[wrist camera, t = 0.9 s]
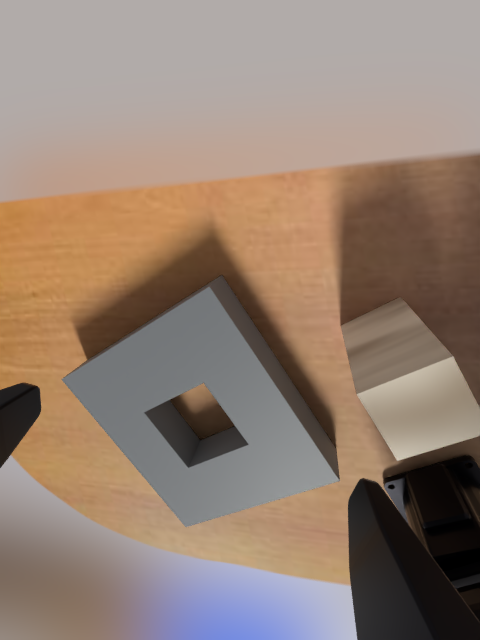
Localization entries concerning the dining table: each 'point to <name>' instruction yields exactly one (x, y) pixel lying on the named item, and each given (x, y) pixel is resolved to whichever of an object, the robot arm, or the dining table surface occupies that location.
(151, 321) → the socket block
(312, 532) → the dining table surface
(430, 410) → the square peg
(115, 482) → the dining table surface
